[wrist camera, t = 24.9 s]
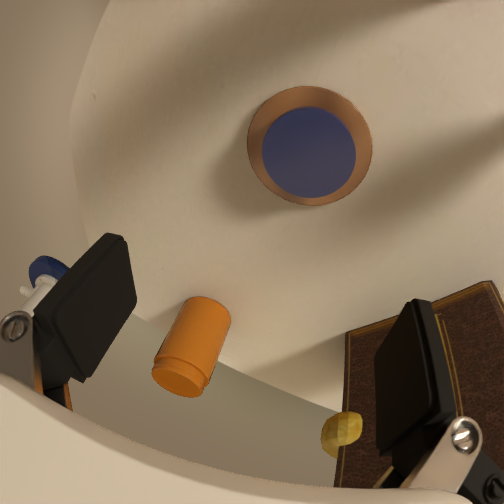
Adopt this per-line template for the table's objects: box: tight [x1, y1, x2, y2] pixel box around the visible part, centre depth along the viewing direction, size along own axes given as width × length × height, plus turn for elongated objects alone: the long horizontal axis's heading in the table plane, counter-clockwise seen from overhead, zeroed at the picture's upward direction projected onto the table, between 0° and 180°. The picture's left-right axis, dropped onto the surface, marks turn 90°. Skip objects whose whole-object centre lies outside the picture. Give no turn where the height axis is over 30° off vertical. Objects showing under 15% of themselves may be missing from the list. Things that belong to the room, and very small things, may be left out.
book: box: [321, 280, 504, 489], centre depth 21 cm, size 22×8×25 cm, turn 125°
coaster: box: [247, 86, 372, 205], centre depth 23 cm, size 10×10×1 cm
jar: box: [152, 297, 231, 398], centre depth 33 cm, size 6×6×10 cm
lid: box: [262, 106, 356, 198], centre depth 22 cm, size 7×7×2 cm
